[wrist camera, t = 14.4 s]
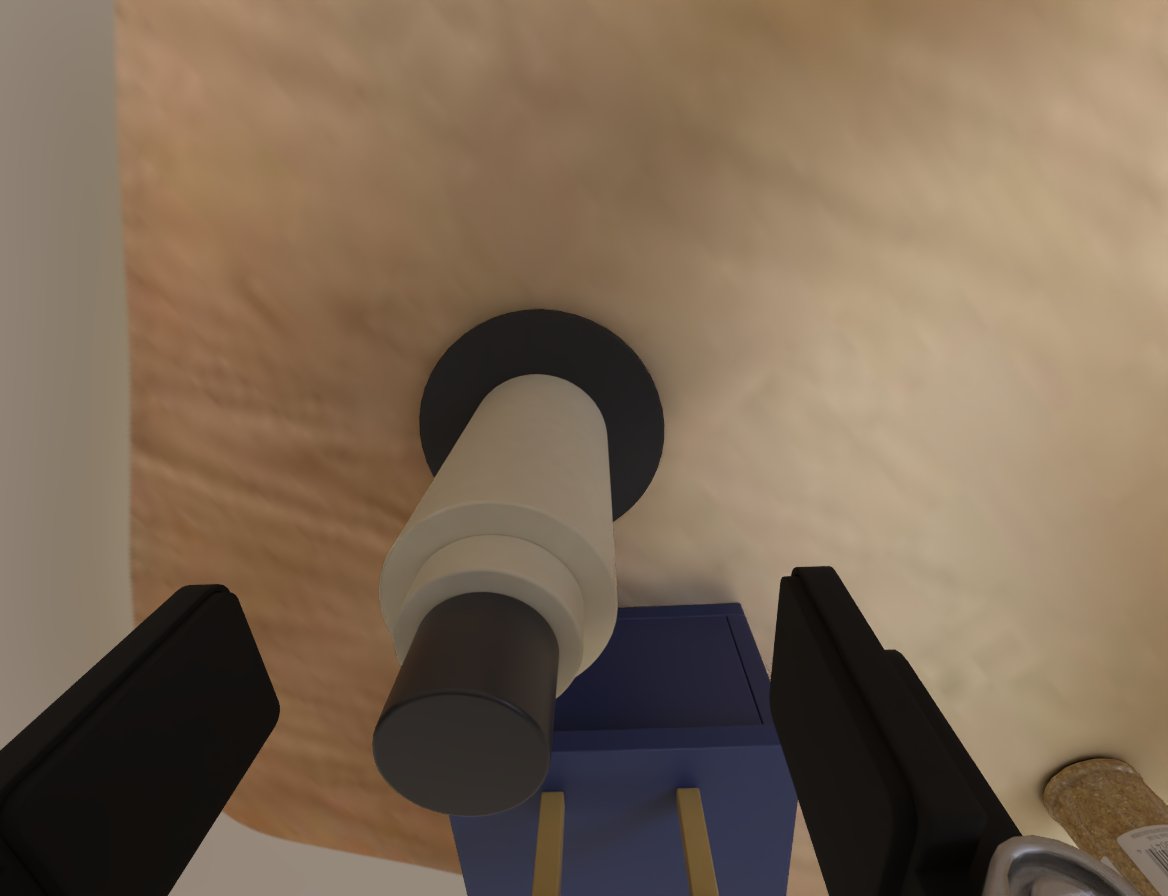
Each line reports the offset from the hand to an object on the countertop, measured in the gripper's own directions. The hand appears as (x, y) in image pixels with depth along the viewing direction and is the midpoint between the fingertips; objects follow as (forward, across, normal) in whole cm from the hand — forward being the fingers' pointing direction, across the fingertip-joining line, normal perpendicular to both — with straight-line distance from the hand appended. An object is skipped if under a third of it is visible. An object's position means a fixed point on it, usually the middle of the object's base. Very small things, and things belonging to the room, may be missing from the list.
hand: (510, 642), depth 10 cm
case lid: (+5, -2, +16) cm, 16 cm away
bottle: (+11, +1, +1) cm, 11 cm away
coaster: (+12, +1, +1) cm, 12 cm away
